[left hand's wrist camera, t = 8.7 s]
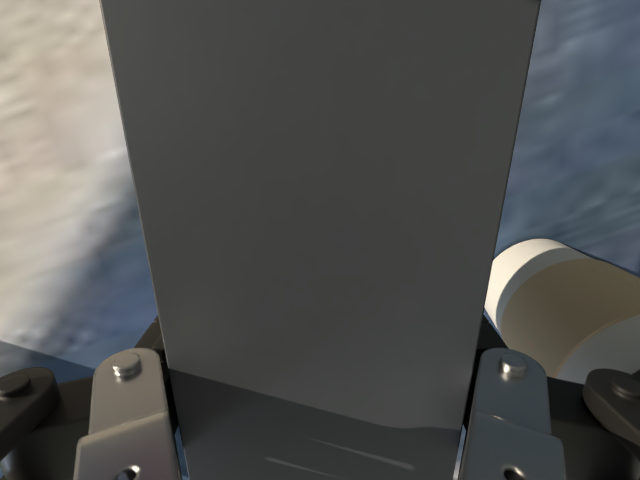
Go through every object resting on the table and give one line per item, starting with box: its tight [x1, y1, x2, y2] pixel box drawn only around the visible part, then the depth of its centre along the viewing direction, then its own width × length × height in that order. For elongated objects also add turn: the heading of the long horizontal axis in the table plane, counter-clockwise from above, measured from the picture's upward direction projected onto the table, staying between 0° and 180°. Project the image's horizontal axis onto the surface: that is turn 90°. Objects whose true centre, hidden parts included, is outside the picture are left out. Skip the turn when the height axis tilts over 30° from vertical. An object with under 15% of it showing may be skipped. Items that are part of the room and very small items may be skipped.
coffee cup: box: [485, 239, 640, 479], centre depth 19 cm, size 9×9×15 cm
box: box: [99, 0, 541, 480], centre depth 10 cm, size 20×6×10 cm, turn 0°
